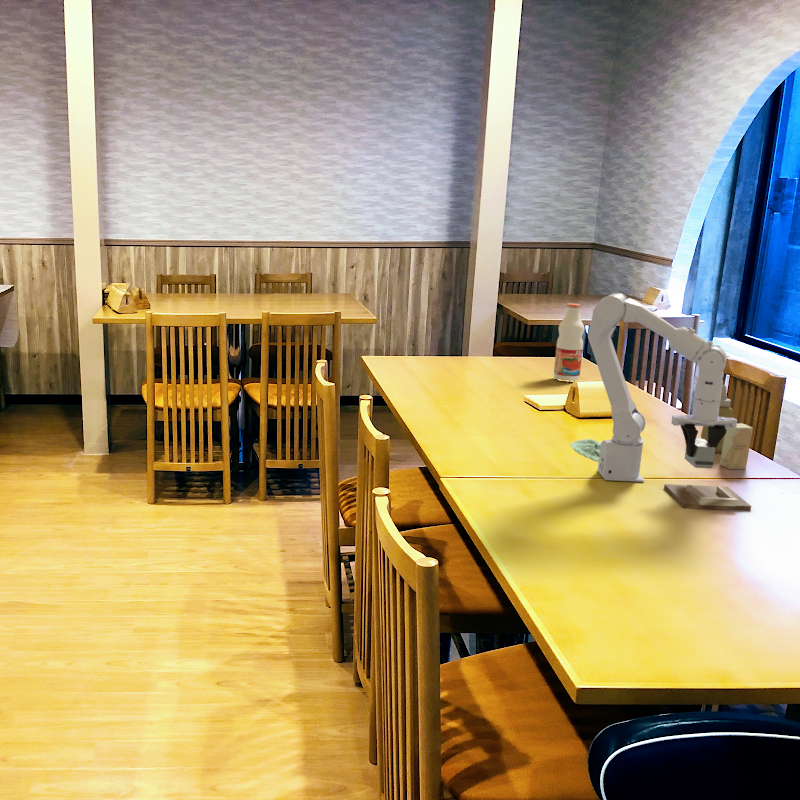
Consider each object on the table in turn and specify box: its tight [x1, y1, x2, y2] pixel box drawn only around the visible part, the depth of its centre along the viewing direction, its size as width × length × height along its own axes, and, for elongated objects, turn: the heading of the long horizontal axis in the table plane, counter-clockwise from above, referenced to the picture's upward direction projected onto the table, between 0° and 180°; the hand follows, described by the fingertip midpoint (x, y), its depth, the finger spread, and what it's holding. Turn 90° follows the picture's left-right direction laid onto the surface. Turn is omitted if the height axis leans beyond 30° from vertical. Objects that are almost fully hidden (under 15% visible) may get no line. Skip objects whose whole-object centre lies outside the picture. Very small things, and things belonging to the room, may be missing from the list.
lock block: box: [684, 438, 716, 469], centre depth 203 cm, size 4×7×5 cm, turn 2°
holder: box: [663, 483, 752, 511], centre depth 198 cm, size 15×14×2 cm
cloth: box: [569, 438, 602, 463], centre depth 231 cm, size 20×22×2 cm
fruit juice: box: [553, 302, 585, 381], centre depth 318 cm, size 9×9×28 cm
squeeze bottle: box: [700, 384, 734, 453], centre depth 237 cm, size 8×8×18 cm
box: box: [719, 422, 754, 470], centre depth 223 cm, size 5×4×11 cm
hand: (699, 456), depth 203 cm, fingers closed on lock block, 4 cm apart
